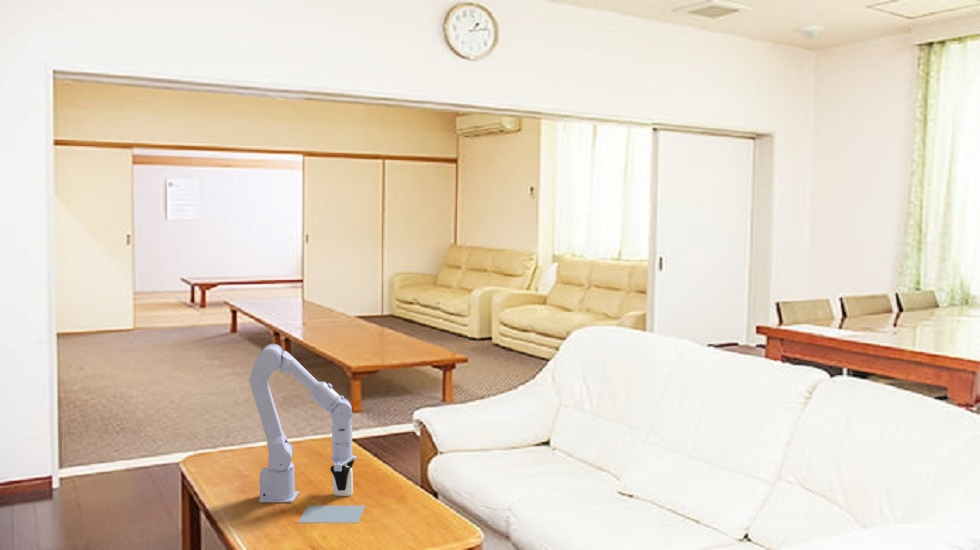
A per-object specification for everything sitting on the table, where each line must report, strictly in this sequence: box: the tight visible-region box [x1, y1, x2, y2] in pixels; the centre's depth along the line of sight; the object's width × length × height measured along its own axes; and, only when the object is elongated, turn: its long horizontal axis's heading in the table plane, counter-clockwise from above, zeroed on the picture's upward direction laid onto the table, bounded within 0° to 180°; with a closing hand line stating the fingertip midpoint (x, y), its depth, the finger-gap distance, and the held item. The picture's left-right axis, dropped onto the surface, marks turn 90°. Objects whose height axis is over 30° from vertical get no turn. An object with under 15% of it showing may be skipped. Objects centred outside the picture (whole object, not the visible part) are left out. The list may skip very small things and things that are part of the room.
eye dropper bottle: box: [332, 463, 354, 497], centre depth 235 cm, size 4×6×12 cm
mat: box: [297, 505, 366, 524], centre depth 221 cm, size 16×12×1 cm
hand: (343, 487), depth 236 cm, fingers closed on eye dropper bottle, 3 cm apart
